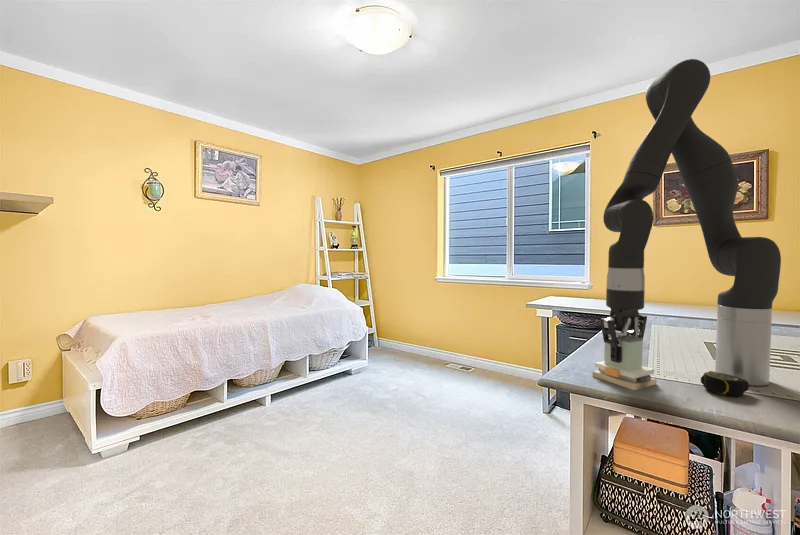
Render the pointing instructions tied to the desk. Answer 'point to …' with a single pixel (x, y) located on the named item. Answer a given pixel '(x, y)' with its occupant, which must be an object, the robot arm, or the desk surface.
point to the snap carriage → (624, 371)
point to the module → (627, 353)
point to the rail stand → (640, 383)
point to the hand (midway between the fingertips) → (623, 360)
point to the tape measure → (724, 383)
